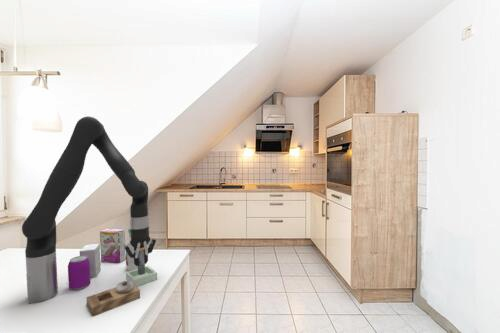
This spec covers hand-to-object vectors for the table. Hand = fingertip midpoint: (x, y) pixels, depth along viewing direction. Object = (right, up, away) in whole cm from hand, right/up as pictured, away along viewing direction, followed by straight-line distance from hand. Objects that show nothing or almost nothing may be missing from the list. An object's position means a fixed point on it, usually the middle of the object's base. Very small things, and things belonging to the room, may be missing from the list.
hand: (141, 264), depth 113 cm
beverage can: (-24, -8, -5) cm, 26 cm away
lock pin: (0, -4, 0) cm, 4 cm away
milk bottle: (-8, -7, +12) cm, 16 cm away
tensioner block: (-3, -8, -17) cm, 19 cm away
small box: (-26, -7, +6) cm, 28 cm away
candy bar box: (-23, -6, +21) cm, 32 cm away
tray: (0, -7, 0) cm, 7 cm away
